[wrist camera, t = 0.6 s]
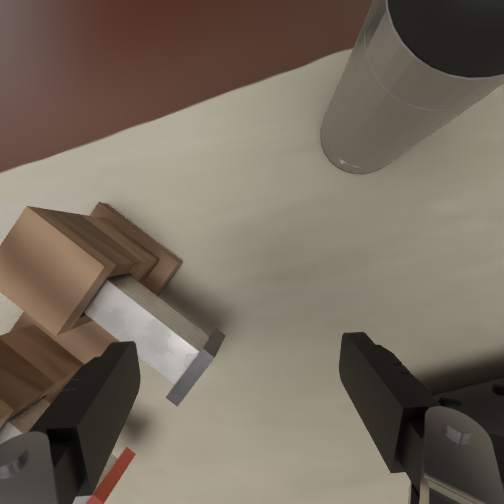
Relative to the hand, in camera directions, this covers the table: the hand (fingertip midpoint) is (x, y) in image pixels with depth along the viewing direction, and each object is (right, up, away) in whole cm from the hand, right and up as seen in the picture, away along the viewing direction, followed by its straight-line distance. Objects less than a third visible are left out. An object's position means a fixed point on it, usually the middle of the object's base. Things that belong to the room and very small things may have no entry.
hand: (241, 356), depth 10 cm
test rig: (-20, -4, +23) cm, 31 cm away
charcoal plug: (-10, -2, +17) cm, 19 cm away
